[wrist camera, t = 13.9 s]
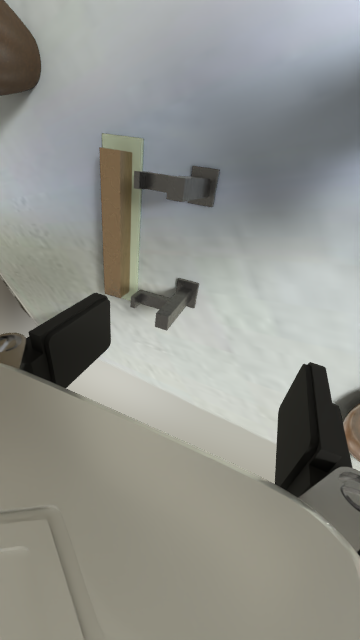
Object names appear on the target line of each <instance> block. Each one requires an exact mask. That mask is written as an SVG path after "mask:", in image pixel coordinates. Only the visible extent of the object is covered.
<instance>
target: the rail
mask: <svg viewBox="0 0 360 640" xmlns="http://www.w3.org/2000/svg"><path fill="white" fill-rule="evenodd" d="M99 148H100V176H101V203H102V231H103V259H104V286H105V294H108V295H111V296H115V297H118V298H121V297H123V296H124V295H125V294H127V293H128V292H129V288H130V241H131V194H132V152H127V151H121V150H115V149H108V148H101V147H99Z"/></svg>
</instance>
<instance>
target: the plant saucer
mask: <svg viewBox="0 0 360 640" xmlns="http://www.w3.org/2000/svg"><path fill="white" fill-rule="evenodd" d="M343 426H344V431H345V435H346V440H347V445H348V449H349V453H350V454H351V455H352V456H353V457H354V458H356V459H357V460H358V461H359V462H360V403H359V404H358V405H356V406H355V407H354V408H353V409H352V410H351V411H350V412H349V413H348V415H347V416H346V418H345V419H344V421H343Z"/></svg>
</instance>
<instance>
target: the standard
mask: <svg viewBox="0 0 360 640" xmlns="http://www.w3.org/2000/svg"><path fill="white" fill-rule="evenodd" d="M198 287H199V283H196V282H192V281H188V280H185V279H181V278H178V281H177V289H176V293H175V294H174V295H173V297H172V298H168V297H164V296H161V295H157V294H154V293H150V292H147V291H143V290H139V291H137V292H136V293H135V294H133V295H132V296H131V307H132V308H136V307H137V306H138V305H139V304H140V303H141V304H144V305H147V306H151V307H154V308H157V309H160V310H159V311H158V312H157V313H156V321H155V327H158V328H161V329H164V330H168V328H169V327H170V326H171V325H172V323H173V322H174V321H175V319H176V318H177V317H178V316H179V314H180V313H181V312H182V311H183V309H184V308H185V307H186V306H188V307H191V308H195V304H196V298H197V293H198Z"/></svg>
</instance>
